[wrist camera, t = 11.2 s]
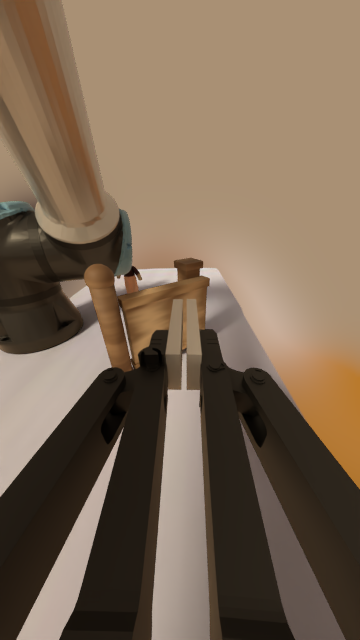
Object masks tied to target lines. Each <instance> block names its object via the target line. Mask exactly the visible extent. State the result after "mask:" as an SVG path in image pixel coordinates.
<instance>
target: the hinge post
mask: <svg viewBox="0 0 360 640" xmlns="http://www.w3.org/2000/svg"><path fill="white" fill-rule="evenodd" d="M84 280H85V283H86V285H87V286H88V287H89V290H90V293H91V297H92V300H93V304H94V307H95V310H96V314H97V317H98V321H99V324H100V328H101V331H102V334H103V338H104V341H105V345H106V348H107V352H108V355H109V358H110V362H111V365H112V367H118V368H120V369H122V370H123V371H124V372H127V371H131V370H132V365H131V360H130V356H129V351H128V346H127V342H126V337H125V333H124V328H123V323H122V319H121V314H120V310H119V305H118V300H117V296H116V291H115V286H114V281H115V278H114V274H113V272H112V271H111V269H110V268H108V267H107V266H105V265H103V264H93V265H91V266H89V267H88V268H87V269H86V271H85V274H84Z"/></svg>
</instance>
